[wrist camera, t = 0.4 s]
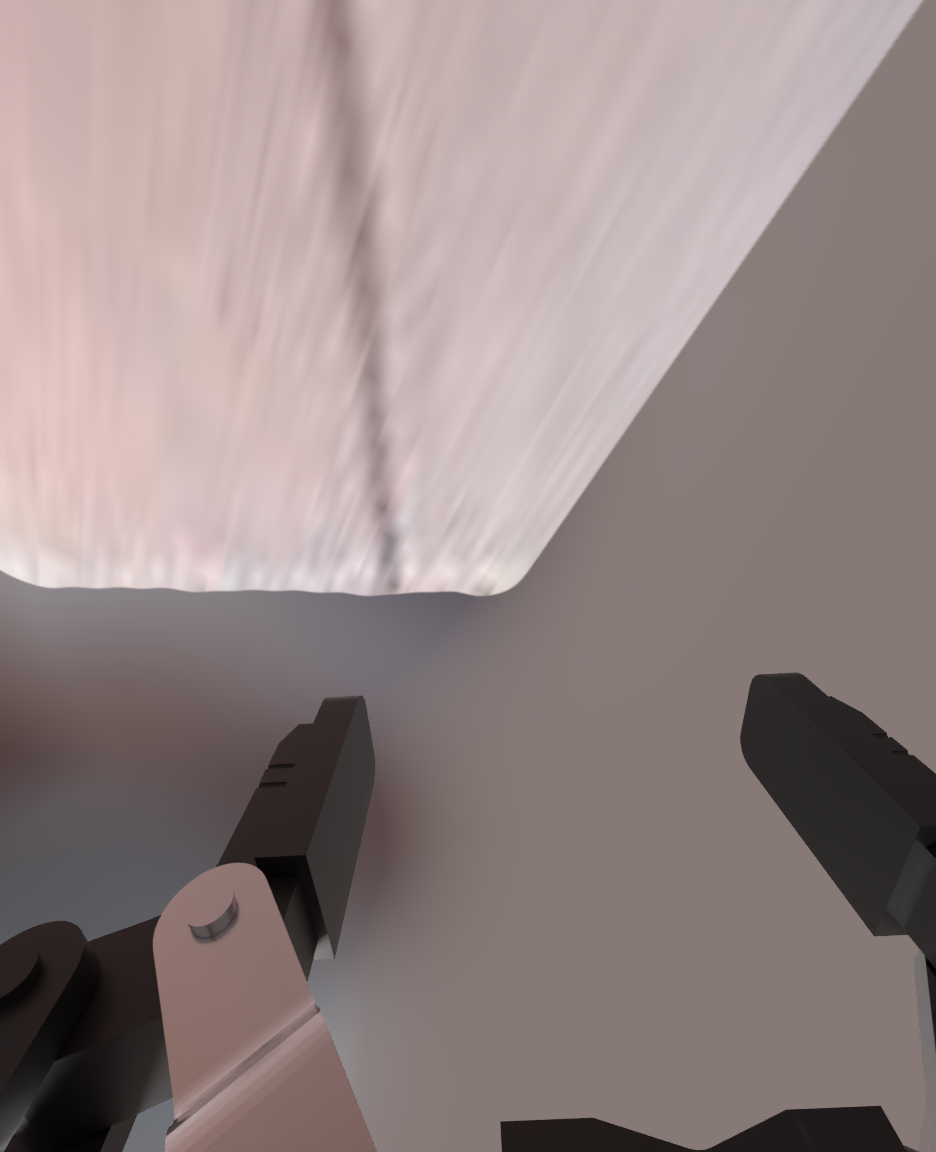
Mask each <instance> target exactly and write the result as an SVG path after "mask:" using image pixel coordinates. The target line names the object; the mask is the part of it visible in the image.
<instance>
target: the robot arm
mask: <svg viewBox="0 0 936 1152" xmlns="http://www.w3.org/2000/svg"><path fill="white" fill-rule="evenodd" d="M740 741H741V748H742V752H743V755H744V758H745V760H746V762H747V764H748V766H749V767H750V769H751V770H752V772H753V773H754V774H755V776H756V777H757V778H758V780H759V781H760V782H761V784H762V785H763V786H764V788H765V789H766V791H767V792H768V793H769V795H770V796H771V797H772V799H773V800H774V801H775V803H776V804H777V805H778V807H779V808H780V809H781V811H782V812H783V814H784V815H785V816H786V818H787V819H788V820H789V822H790V823H791V824H792V826H793V827H794V828H795V830H796V831H797V832H798V834H799V835H800V836H801V838H802V839H803V841H804V842H805V843H806V845H807V846H808V847H809V849H810V850H811V851H812V853H813V854H814V856H815V857H816V858H817V860H818V861H819V862H820V864H821V865H822V866H823V868H824V869H825V870H826V872H827V873H828V874H829V876H830V877H831V879H832V880H833V881H834V883H835V884H836V885H837V887H838V888H839V889H840V891H841V892H842V893H843V895H844V896H845V897H846V899H847V900H848V902H849V903H850V904H851V906H852V907H853V908H854V910H855V911H856V912H857V914H858V915H859V916H860V918H861V919H862V920H863V922H864V923H865V925H866V926H867V927H868V929H869V930H870V931H871V933H872V934H873V935H874V936H889V935H909V936H910V938H912V940H913V941H914V943H916V945H917V946H918V948H919V949H918V951H917V953H916V955H915V958H914V974H915V983H916V984H915V985H916V995H917V1006H918V1016H919V1028H920V1038H921V1049H922V1060H923V1071H924V1081H925V1112H924V1119H923V1124H922V1128H921V1133H920V1139H919V1147H918V1151H916V1150H914V1149H912V1148H909V1147H907V1146H904V1145H902V1142H901V1141H900V1139H899V1137H898V1136H897V1134H896V1132H895V1130H894V1129H893V1127H892V1125H891V1123H890V1122H889V1120H888V1118H887V1116H886V1115H885V1113H884V1111H883V1110H882V1108H881V1106H866V1107H844V1108H843V1107H841V1108H820V1109H819V1108H817V1109H793V1110H785V1111H783V1112H781V1113H779V1114H777V1115H775V1116H773V1117H771V1118H769V1119H767V1120H765V1121H763V1122H761V1123H759V1124H757V1125H755V1126H753V1127H751V1128H749V1129H747V1130H745V1131H743V1132H741V1133H739V1134H737V1135H735V1136H734V1137H731V1138H730V1139H727V1140H726V1141H723V1142H721V1143H719V1144H717V1145H715V1146H714V1147H712V1148H709V1149H706V1150H692V1149H688V1148H685V1147H682V1146H679V1145H676V1144H673V1143H670V1142H666V1141H663V1140H660V1139H657V1138H654V1137H651V1136H648V1135H645V1134H642V1133H639V1132H635V1131H632V1130H629V1129H626V1128H623V1127H620V1126H617V1125H614V1124H610V1123H607V1122H604V1121H601V1120H598V1119H595V1118H579V1119H552V1120H530V1121H529V1120H528V1121H505V1122H501V1142H502V1152H936V774H935V773H934V772H933V771H932V770H930V769H929V768H928V767H927V766H926V765H924V764H923V763H922V762H921V761H920V760H918V759H917V758H916V757H915V756H914V755H909V754H908V750H906V749H905V748H904V747H903V746H902V745H900V744H899V743H898V742H897V741H896V740H894V739H893V738H892V737H889V738H888V736H887V733H886V732H885V731H884V730H882V729H881V728H880V727H879V726H878V725H876V724H875V723H874V722H873V721H872V720H870V719H869V718H868V717H867V716H866V715H864V714H863V713H862V712H860V711H858V710H856V709H854V708H852V707H850V706H848V705H847V704H845V703H843V702H841V701H839V700H837V699H835V698H833V697H832V696H830V697H828V696H827V695H826V694H825V693H823V692H822V691H821V690H820V689H819V688H818V687H817V686H815V685H814V684H813V683H812V682H811V681H810V680H809V679H807V678H806V677H805V676H804V675H802V674H800V673H778V674H762V675H761V674H760V675H756V676H755V677H754V678H753V679H752V682H751V685H750V690H749V695H748V699H747V705H746V709H745V715H744V719H743V725H742V730H741V736H740ZM374 776H375V757H374V749H373V743H372V737H371V732H370V726H369V720H368V715H367V709H366V704H365V700H364V698H363V696H348V697H347V696H346V697H329V698H325V699H324V700H323V702H322V705H321V707H320V709H319V711H318V713H317V716H316V718H315V721H314V723H313V724H299V725H298V726H297V727H296V728H295V729H294V730H293V731H292V732H290V733H289V734H288V735H287V736H286V737H285V738H284V739H283V740H282V741H281V742H280V743H279V745H278V747H277V749H276V751H275V753H274V755H273V757H272V759H271V761H270V763H269V765H268V769H266V770H265V772H264V774H263V776H262V778H261V780H260V782H259V788H256V790H255V792H254V794H253V796H252V798H251V800H250V802H249V804H248V806H247V808H246V810H245V812H244V814H243V816H242V818H241V820H240V822H239V824H238V825H237V827H236V829H235V831H234V833H233V835H232V837H231V839H230V841H229V843H228V845H227V847H226V849H225V851H224V853H223V855H222V857H221V859H220V861H219V863H218V865H217V866H216V868H213V869H211V870H209V871H207V872H205V873H203V874H201V875H200V876H198V877H197V878H195V879H194V880H192V881H191V882H190V883H189V884H187V885H186V886H185V887H184V888H183V889H182V890H181V891H180V892H179V893H177V895H176V896H175V897H174V898H173V899H172V900H171V901H170V903H169V904H168V905H167V907H166V908H165V910H164V911H163V913H162V915H160V916H157V917H155V918H153V919H150V920H148V921H145V922H142V923H139V924H136V925H134V926H131V927H128V928H125V929H122V930H120V931H117V932H114V933H111V934H108V935H105V936H103V937H100V938H97V939H94V940H92V941H89V942H88V941H87V939H86V938H85V936H84V934H83V932H82V931H81V930H80V929H79V927H78V926H77V925H75V924H73V923H71V922H66V921H55V922H49V923H45V924H41V925H38V926H35V927H32V928H30V929H28V930H25V931H24V932H21V933H19V934H18V935H16V936H14V937H12V938H10V939H9V940H7V941H6V942H4V943H3V944H1V945H0V1152H122V1151H123V1148H124V1146H125V1143H126V1141H127V1138H128V1136H129V1134H130V1131H131V1129H132V1126H133V1124H134V1121H135V1119H136V1116H137V1114H138V1113H140V1112H143V1111H145V1110H147V1109H149V1108H151V1107H153V1106H156V1105H158V1104H160V1103H162V1102H164V1101H166V1100H169V1099H171V1098H173V1102H174V1123H173V1125H172V1126H171V1127H169V1129H168V1131H167V1135H166V1143H165V1146H166V1147H165V1152H377V1150H376V1148H375V1146H374V1143H373V1140H372V1138H371V1135H370V1133H369V1131H368V1128H367V1125H366V1123H365V1120H364V1118H363V1115H362V1113H361V1110H360V1108H359V1105H358V1103H357V1100H356V1098H355V1095H354V1093H353V1090H352V1088H351V1085H350V1083H349V1080H348V1078H347V1075H346V1073H345V1070H344V1067H343V1065H342V1062H341V1060H340V1057H339V1055H338V1052H337V1050H336V1047H335V1045H334V1043H333V1040H332V1037H331V1035H330V1032H329V1030H328V1027H327V1025H326V1023H325V1021H324V1018H323V1016H322V1013H321V1011H320V1009H319V1008H318V1007H317V1005H316V1003H315V1001H314V998H313V996H312V993H311V991H310V988H309V986H308V983H307V981H308V977H309V973H310V969H311V965H312V961H313V960H322V959H334V958H335V955H336V950H337V946H338V941H339V937H340V932H341V928H342V923H343V919H344V914H345V910H346V905H347V901H348V896H349V892H350V887H351V883H352V878H353V874H354V870H355V864H356V861H357V856H358V852H359V847H360V843H361V838H362V833H363V829H364V825H365V820H366V816H367V811H368V807H369V802H370V798H371V793H372V789H373V784H374Z"/></svg>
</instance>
